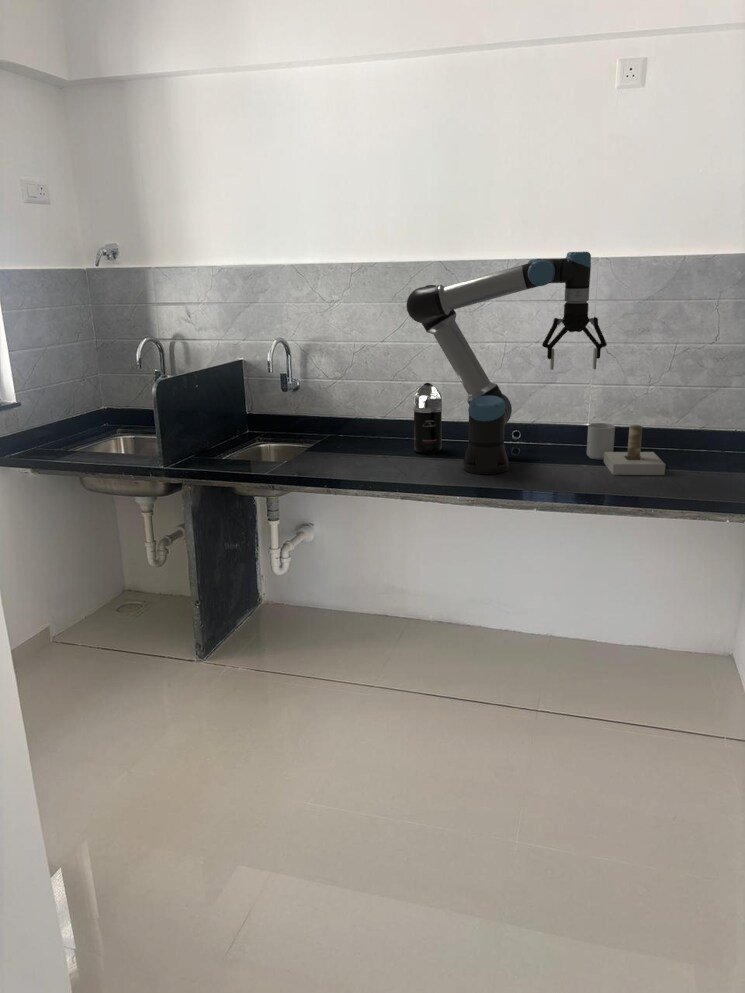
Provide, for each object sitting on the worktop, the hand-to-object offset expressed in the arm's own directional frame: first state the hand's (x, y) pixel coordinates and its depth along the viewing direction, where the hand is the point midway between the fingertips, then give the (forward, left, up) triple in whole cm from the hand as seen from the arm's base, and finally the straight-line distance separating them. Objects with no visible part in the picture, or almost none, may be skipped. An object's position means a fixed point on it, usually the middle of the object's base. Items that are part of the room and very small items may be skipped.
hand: (572, 369), depth 256 cm
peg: (+20, -7, -32) cm, 38 cm away
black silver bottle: (-48, +16, -32) cm, 60 cm away
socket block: (+20, -7, -32) cm, 38 cm away
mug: (+12, +9, -32) cm, 35 cm away
